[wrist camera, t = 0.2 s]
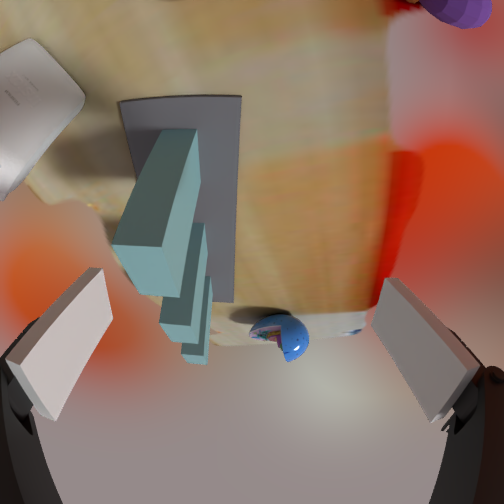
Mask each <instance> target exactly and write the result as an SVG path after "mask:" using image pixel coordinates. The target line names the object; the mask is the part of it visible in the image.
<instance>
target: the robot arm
mask: <svg viewBox="0 0 504 504" xmlns="http://www.w3.org/2000/svg"><path fill="white" fill-rule="evenodd" d="M112 319H113V317H112V312H111V308H110V303H109V298H108V293H107V288H106V283H105V278H104V272H103V268H89V269H87V270H86V271H85V272H84V273H83V274H82V275H81V276H80V277H79V278H78V279H77V280H76V281H75V282H74V283H73V284H72V285H71V286H70V287H69V288H68V289H67V290H66V291H65V292H64V293H63V294H62V295H61V296H60V297H59V298H58V299H57V300H56V301H55V302H54V303H53V304H52V305H51V306H50V307H49V308H48V309H47V310H46V312H45V313H44V314H43V315H42V316H41V317H39V318H37V319H36V320H34V321H32V322H31V323H30V324H28V326H27V327H26V328H25V329H24V330H23V333H21V334H20V335H19V336H18V337H17V339H15V341H14V342H13V343H12V344H11V345H10V346H9V348H8V349H7V350H6V351H5V353H4V354H3V355H2V356H1V357H0V504H63V503H62V501H61V498H60V496H59V494H58V492H57V489H56V487H55V485H54V482H53V479H52V477H51V474H50V472H49V469H48V466H47V463H46V460H45V457H44V454H43V451H42V447H41V444H40V440H39V437H38V433H37V429H36V425H35V421H34V417H33V414H32V413H31V411H30V410H31V408H32V406H33V405H34V407H35V408H36V410H37V411H38V412H39V414H40V415H41V416H44V417H46V418H48V419H51V420H53V421H56V420H57V418H58V416H59V414H60V412H61V410H62V408H63V406H64V404H65V402H66V400H67V398H68V396H69V394H70V392H71V390H72V388H73V386H74V384H75V382H76V381H77V379H78V377H79V375H80V374H81V372H82V370H83V368H84V366H85V364H86V363H87V361H88V359H89V357H90V356H91V354H92V352H93V351H94V349H95V347H96V346H97V344H98V342H99V341H100V339H101V337H102V336H103V334H104V332H105V331H106V329H107V327H108V326H109V324H110V323H111V321H112ZM371 326H372V328H373V329H374V331H375V332H376V334H377V335H378V337H379V338H380V340H381V341H382V343H383V345H384V346H385V348H386V349H387V351H388V352H389V354H390V355H391V357H392V359H393V360H394V362H395V364H396V365H397V367H398V368H399V370H400V372H401V373H402V375H403V377H404V378H405V380H406V382H407V383H408V385H409V387H410V388H411V390H412V392H413V393H414V395H415V397H416V399H417V400H418V402H419V404H420V405H421V407H422V409H423V411H424V413H425V415H426V416H427V418H428V420H429V422H430V423H431V422H434V421H436V420H439V419H441V418H444V416H445V415H446V414H447V413H448V411H449V410H450V409H451V408H453V409H454V411H455V412H454V414H453V415H452V416H451V417H450V419H449V420H448V421H447V422H446V423H445V425H444V426H443V427H442V429H441V431H444V430H445V429H446V427H447V426H448V425H450V426H449V429H448V430H447V431H446V432H448V437H447V442H446V447H445V451H444V456H443V459H442V463H441V467H440V471H439V474H438V478H437V481H436V484H435V487H434V490H433V493H432V496H431V499H430V502H429V504H504V372H503V371H502V370H501V369H500V368H498V367H496V366H489V367H487V368H485V366H484V365H483V364H482V363H481V362H480V360H479V359H478V358H477V357H476V356H475V355H474V354H473V353H472V351H471V350H470V349H469V348H468V347H466V345H465V343H464V342H463V341H461V339H460V338H459V337H458V336H457V335H456V333H455V332H453V331H452V330H450V329H448V328H447V327H446V326H445V325H444V324H443V323H442V322H441V321H440V320H439V319H438V318H437V317H436V316H435V314H434V313H433V312H432V311H430V309H429V308H428V307H426V305H424V303H423V302H422V301H421V300H420V299H419V298H418V297H417V296H416V295H415V294H414V293H413V292H412V291H411V290H410V289H409V288H407V287H406V286H405V285H404V284H403V283H402V282H401V281H400V280H399V279H398V278H385V280H384V284H383V287H382V291H381V294H380V298H379V301H378V304H377V308H376V311H375V314H374V317H373V320H372V323H371Z"/></svg>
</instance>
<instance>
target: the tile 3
mask: <svg viewBox="0 0 504 504" xmlns="http://www.w3.org/2000/svg"><path fill="white" fill-rule="evenodd" d="M212 297H213V292H212V285H211V277H209V276H205V281H204V290H203V299H202V309H201V319H200V330H199V341H198V344H193V343H182V349H181V354H182V356H183V357H184V359H185V360H186V361H187V363H193V364H205V365H207V362H208V348H209V334H210V321H211V309H212Z"/></svg>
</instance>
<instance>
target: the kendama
mask: <svg viewBox="0 0 504 504" xmlns="http://www.w3.org/2000/svg"><path fill="white" fill-rule="evenodd" d="M406 1H408V2H410V3H416V2H418V1H419V2H420V3H421V4H422V6H423V7H424V8H425V9H426V10H427V11H428V12H429V13H430V14H432V15H433V16H435V17H436V18H437V19H439V20H440V21H442V22H445V23H447V24H450V25H453V26H456V27H459V28H461V29H467V28H475V27H481V26H482V25H483V24H484V23H485V22H486V21H487V20H488V19H489V17H490V15H491V12H492V2H491V0H406Z"/></svg>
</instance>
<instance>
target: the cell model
mask: <svg viewBox="0 0 504 504" xmlns="http://www.w3.org/2000/svg"><path fill="white" fill-rule="evenodd" d="M249 337H251V338H253V339H257V340H264V341H275V342H277V344H278V347H279V348H281V349H282V351H283V353H284V356H285V359H286V361H287V362H290V361H292V360H295V359H296V358H298V357H299V356H301V355H302V354H303V353H304V351H305V350H306V348H307V346H308V344H309V333H308V330H307V328H306V327H305V325H304V324H303V323H302V322H301V321H300V320H299V319H297V318H295V317H293V316H290V315H286V314H276V315H271V316H268V317H266V318H263V319H262V320H260V321H259V322H257V323H256V324H255V325H254V326H253V327H252V328H251V330H250V332H249Z"/></svg>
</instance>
